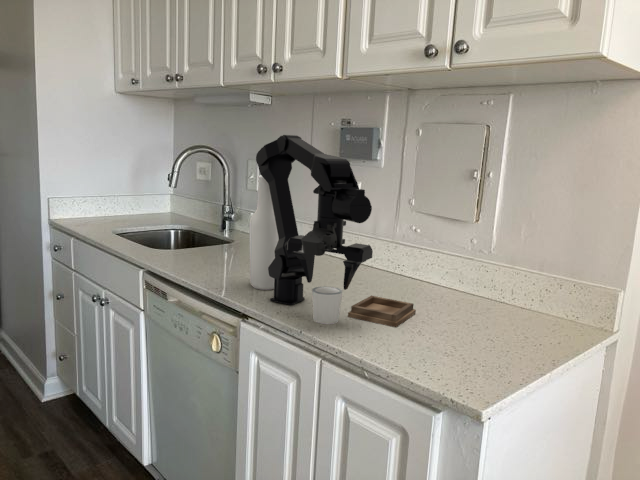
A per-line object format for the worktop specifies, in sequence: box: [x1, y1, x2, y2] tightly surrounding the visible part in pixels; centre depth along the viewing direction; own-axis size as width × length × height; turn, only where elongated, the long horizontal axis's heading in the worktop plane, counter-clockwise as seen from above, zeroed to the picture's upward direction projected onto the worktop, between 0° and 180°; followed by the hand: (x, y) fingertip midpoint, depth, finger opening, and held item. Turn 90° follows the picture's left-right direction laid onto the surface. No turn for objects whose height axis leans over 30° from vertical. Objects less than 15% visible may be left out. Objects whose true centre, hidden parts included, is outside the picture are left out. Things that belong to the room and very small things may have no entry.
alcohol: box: [249, 174, 279, 291], centre depth 141 cm, size 9×9×30 cm
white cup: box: [311, 285, 343, 325], centre depth 119 cm, size 7×7×7 cm
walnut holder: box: [347, 295, 417, 328], centre depth 124 cm, size 12×12×2 cm
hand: (327, 285), depth 118 cm, fingers open, 9 cm apart
